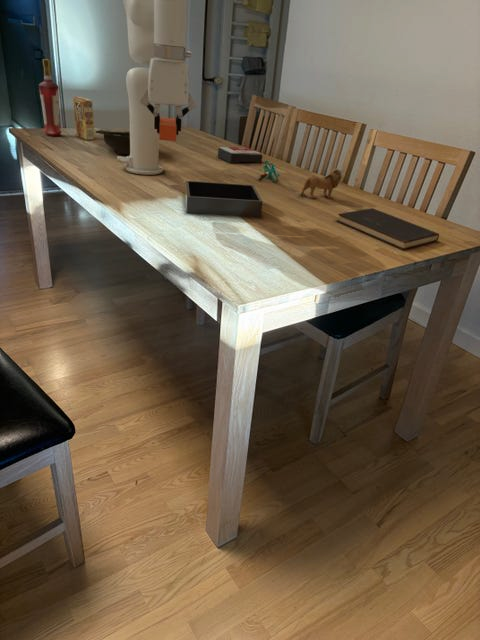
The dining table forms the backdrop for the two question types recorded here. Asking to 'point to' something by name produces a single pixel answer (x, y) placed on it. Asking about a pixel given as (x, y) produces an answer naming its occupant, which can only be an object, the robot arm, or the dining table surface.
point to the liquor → (50, 102)
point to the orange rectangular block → (167, 129)
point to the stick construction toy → (269, 172)
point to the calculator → (239, 155)
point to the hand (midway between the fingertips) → (167, 132)
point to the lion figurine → (323, 183)
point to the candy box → (84, 118)
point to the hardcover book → (388, 228)
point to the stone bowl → (117, 140)
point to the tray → (222, 199)
